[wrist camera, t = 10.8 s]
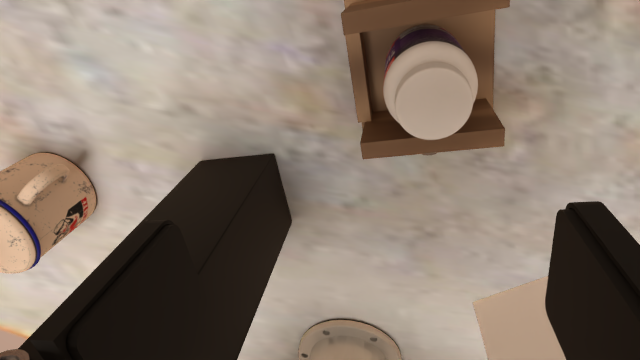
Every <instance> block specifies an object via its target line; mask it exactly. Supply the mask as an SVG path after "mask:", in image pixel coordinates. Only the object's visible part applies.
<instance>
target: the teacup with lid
mask: <svg viewBox="0 0 640 360" xmlns="http://www.w3.org/2000/svg"><path fill="white" fill-rule="evenodd" d="M95 206H96V195H95V191H94V188H93V186H92V184H91V182H90V181H89V179H88V178H87V177H86V175H85V174H84V173H83V172H82V171H81V170H80V169H79V168H78V167H77V166H75V165H74V164H73V163H71V162H70V161H68V160H66V159H65V158H63V157H60V156H58V155H54V154H50V153H36V154H32V155H30V156H28V157H26V158H24V159H23V160H21V161H19V162H17V163H15V164H13V165H11V166H10V167H8V168H6V169H4V170H2V171H0V272H2V273H20V272H23V271H26V270H28V269H31V268H32V267H34V266H35V265H36V264H37V263H38V261H39V259H40V257H42V256H43V255H44V254H45V253H46V252H48V251H49V250H50V249H51V248H52V247H54V246H55V245H56V244H57V243H58V242H60V241H61V240H62V239H63V238H64V237H65V236H67V235H68V234H69V233H70V232H71V231H73V230H74V229H75V228H76V227H77V226H79V225H80V224H81V223H82V222H83V221H84V220H86V219H87V218H88V217H89V216H90V215H91V214H92V213H93V211H94V209H95Z"/></svg>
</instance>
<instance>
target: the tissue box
mask: <svg viewBox="0 0 640 360" xmlns="http://www.w3.org/2000/svg"><path fill="white" fill-rule="evenodd" d="M154 220H170V221H172V222H173V223H174V225H177V226H178V227H179V228H180V230H181V233H182V235H183V238H184V241H185V243H186V246H187V248H188V251H189V253H190V256H191V259H192V261H193V264H194V266H195V269H196V271H197V274H198V277H199V279H200V282H201V284H202V287H203V289H204V292H205V295H206V297H207V308H206V311H205V313H204V315H203V316H202V318H201V320H200V322H199V323H198V325H197V327H196V329H195V331H194V332H193V334H192V336H191V338H190V340H189V341H188V343H187V345H186V347H185V349H184V350H183V352H182V354H181V356H180V357H179V359H178V360H237V358H238V356H239V353H240V351H241V348H242V346H243V343H244V341H245V338H246V336H247V333H248V331H249V328H250V326H251V323H252V321H253V318H254V316H255V313H256V311H257V308H258V306H259V303H260V301H261V298H262V296H263V293H264V291H265V288H266V286H267V283H268V281H269V278H270V276H271V273H272V271H273V268H274V266H275V263H276V261H277V258H278V256H279V253H280V251H281V248H282V246H283V243H284V241H285V238H286V236H287V233H288V231H289V228H290V226H291V223H292V220H291V216H290V213H289V209H288V205H287V201H286V198H285V194H284V190H283V186H282V183H281V179H280V175H279V171H278V168H277V164H276V160H275V156H274V154H268V155H258V156H247V157H237V158H227V159H217V160H207V161H200V162H199V163H198V164H197V165H196V166H195V167H194V168H193V169H192V170H191V171H190V172H189V173H188V174H187V175H186V176H185V177H184V178H183V179H182V180H181V181H180V182H179V183H178V184H177V185H176V186H175V188H174V189H173V190H172V191H171V192H170V193H169V194H168V195H167V196H166V197H165V198H164V199H163V200H162V201H161V202H160V203H159V204H158V205H157V206H156V207H155V208H154V209H153V210H152V211H151V212H150V213H149V214H148V215H147V216H146V217H145V218H144V220H143V221H142V222H141V223H140V224H139V225H138V226H137V227H136V228H135V229H134V230H133V231H132V232H131V233H130V234H129V235H128V236H127V237H126V238H125V239H124V240H123V241H122V242H121V243H120V244H119V245H118V246H117V247H116V248H115V249H114V250H113V251H112V253H111V254H110V255H109V256H108V257H107V258H106V259H105V260H104V261H103V262H102V263H101V264H100V265H99V266H98V267H97V268H96V269H95V270H94V271H93V272H92V273H91V274H90V275H89V276H88V277H87V278H86V279H85V280H84V281H83V282H82V283H81V285H80V286H79V287H78V288H77V289H76V290H75V291H74V292H73V293H72V294H71V295H70V296H69V297H68V298H67V299H66V300H65V301H64V302H63V303H62V304H61V305H60V306H59V307H58V308H57V309H56V310H55V311H54V312H53V313H52V314H51V315H50V317H49V318H48V319H47V320H46V321H45V322H44V323H43V324H42V325H41V326H40V327H39V328H38V329H37V330H36V331H35V332H34V333H33V334H32V335H31V336H30V337H29V338H28V339H27V340H26V341H25V342H24V343H23V345H21V346H20V347H19V348H18V349H20V350H25V351H26V352H27V353H28V354H29V355H30V357H32V356H33V355H34V354H35V353H36V352H37V350H36V348H35V347H34V345H33V344H32V343H31V341H30V339H31V338H32V337H33V336H34V335H35V334H36V333H37V332H38V331H39V330H40V329H41V328H42V327H43V326H44V325H45V324H46V323H47V322H48V321H49V320H50V319H51V318H52V317H53V316H54V315H55V314H56V313H57V312H58V311H59V310H60V309H61V308H62V307H63V306H64V305H65V304H66V303H67V302H68V301H69V300H70V299H71V298H72V297H73V296H74V295H75V294H76V293H77V292H78V291H79V290H80V289H81V288H82V287H83V286H84V285H85V284H86V283H87V282H88V281H89V280H90V279H91V278H92V277H93V276H94V275H95V274H96V273H97V272H98V271H99V270H100V269H101V268H102V267H103V266H104V265H105V264H106V262H107V261H108V260H109V259H110V258H111V257H112V256H113V255H114V254H115V253H116V252H117V251H118V250H119V249H120V248H121V247H122V246H123V245H124V244H125V243H126V242H127V241H128V240H129V239H130V238H131V237H132V236H133V235H134V234H135V233H136V232H137V231H138V230H139V229H140V228H141V227H142V226H143V225H144V224H145V223H146V222H148V221H154Z"/></svg>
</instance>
